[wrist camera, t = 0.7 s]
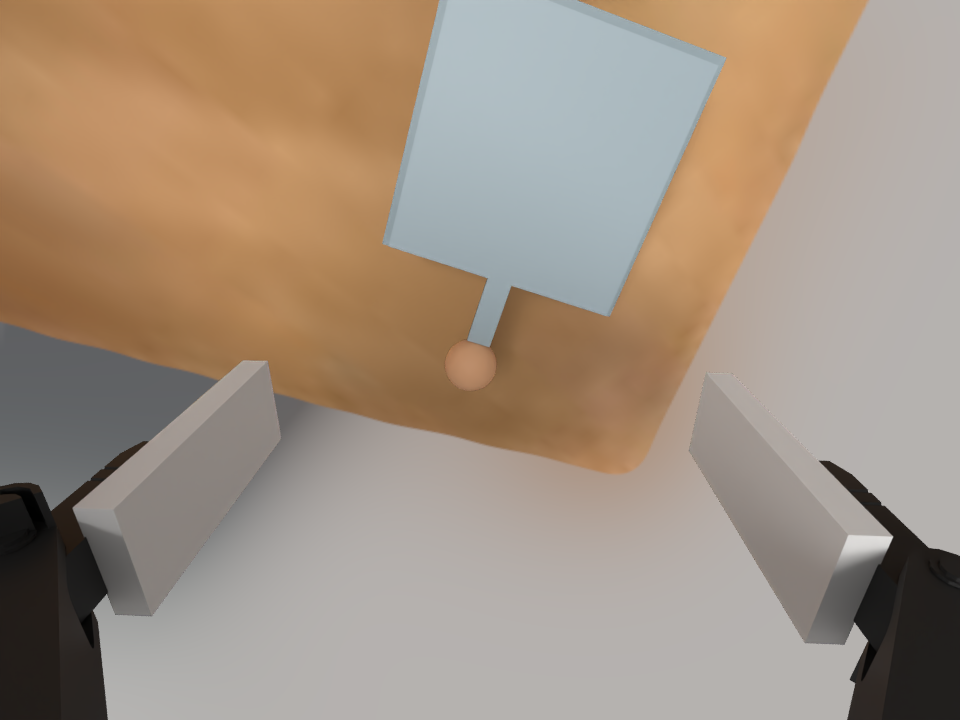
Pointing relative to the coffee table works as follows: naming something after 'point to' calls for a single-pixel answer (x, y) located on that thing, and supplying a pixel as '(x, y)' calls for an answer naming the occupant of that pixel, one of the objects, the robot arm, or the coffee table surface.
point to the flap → (541, 156)
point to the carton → (572, 2)
